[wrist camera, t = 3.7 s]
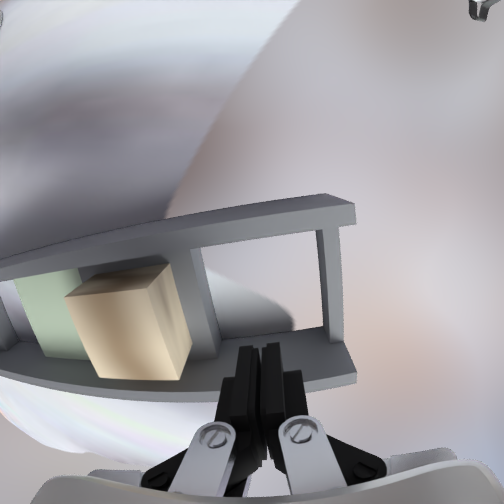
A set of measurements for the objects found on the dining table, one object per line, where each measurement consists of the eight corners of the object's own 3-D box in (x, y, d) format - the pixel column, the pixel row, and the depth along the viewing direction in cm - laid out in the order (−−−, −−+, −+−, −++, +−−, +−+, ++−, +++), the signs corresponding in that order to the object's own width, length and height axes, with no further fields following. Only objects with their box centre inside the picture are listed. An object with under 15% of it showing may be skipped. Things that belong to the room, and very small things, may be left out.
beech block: (121, 346, 19) (99, 377, 15) (95, 274, 17) (63, 297, 14) (192, 343, 19) (179, 380, 15) (169, 263, 17) (146, 288, 13)
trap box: (10, 346, 24) (-16, 370, 18) (-21, 265, 21) (-54, 282, 15) (335, 334, 21) (356, 383, 15) (325, 193, 18) (354, 203, 12)
